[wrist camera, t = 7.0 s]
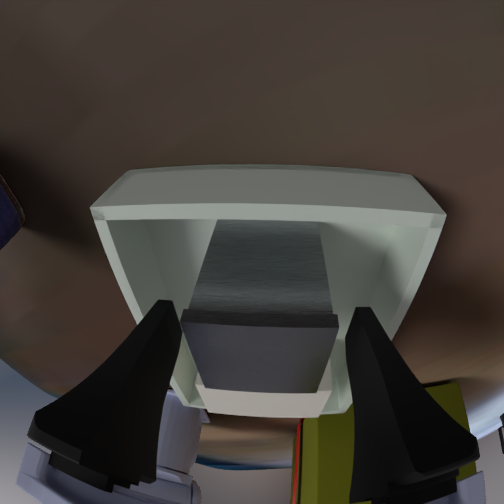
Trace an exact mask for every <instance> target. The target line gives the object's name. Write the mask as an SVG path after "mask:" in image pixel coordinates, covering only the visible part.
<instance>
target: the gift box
mask: <svg viewBox="0 0 504 504" xmlns="http://www.w3.org/2000/svg"><path fill="white" fill-rule="evenodd" d="M425 389H426V390H427V392H428V393H429V394H430V395H431V396H432V397H433V399H434V400H435V401H436V402H437V403H438V404H439V405H440V406H441V407H442V408H443V409H444V410H445V411H446V412H447V413H448V414H449V415H450V416H451V417H452V418H453V419H454V420H455V421H456V422H458V423H459V424H460V425H461V426H462V427H464V428H465V429H466V430H467V431H469V432H470V428H469V423H468V419H467V414H466V410H465V406H464V402H463V398H462V394H461V390H460V387H459V383H458V382H454V383H449V384H444V385H438V386H432V387H426V388H425ZM300 423H302V425H301V426H300ZM353 458H354V409H353V402H352V404H351V405H350V407H349V408H348V409H347V411H346V412H345V413H338V414H320V415H319V417H315V418H302V419H301V420H300V422H299V424H298V426H297V434H296V435H295V437H294V439H293V458H292V480H291V499H290V504H349V493H350V487H351V480H352V471H353ZM459 473H460V474H459V476H457V477H456V481H457V480H461V479H463V478H466V477H468V476H470V475H472V474H475V473H477V472H476V464H475V461H474V462H472V463H470V464H468V465H465V466H463V467H461V468H459ZM351 504H371V501H365V502H359V503H351Z"/></svg>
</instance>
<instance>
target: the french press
mask: <svg viewBox="0 0 504 504" xmlns="http://www.w3.org/2000/svg"><path fill="white" fill-rule="evenodd" d="M500 419H501V421H502V425H503V426H501V427H500V428H499V429H498V431H499V435H500V441H501V446H502V452H503V454H504V439H503V434H502V429H501V428H502V427H504V414H502V415H501V416H500Z"/></svg>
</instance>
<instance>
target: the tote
mask: <svg viewBox="0 0 504 504" xmlns="http://www.w3.org/2000/svg"><path fill="white" fill-rule="evenodd" d="M90 210H91V213H92V216H93V219H94V222H95V225H96V228H97V230H98V233H99V236H100V239H101V241H102V244H103V247H104V249H105V252H106V255H107V257H108V260H109V262H110V265H111V267H112V270H113V272H114V274H115V277H116V279H117V281H118V284H119V286H120V288H121V291H122V293H123V295H124V297H125V299H126V302H127V304H128V306H129V308H130V310H131V312H132V314H133V316H134V319H135V321H136V323H137V325H138V324H139V322H140V321H141V320H142V319H143V318H144V316H145V315H146V314H147V313H148V311H149V310H150V309H151V308H152V306H153V305H154V304H155V303H156V302H157V300H159V299H161V300H172V301H173V304H174V307H175V310H176V313H177V316H178V319H179V322H180V319H181V315H182V312H183V309H188V307H189V304H190V301H191V298H192V295H193V291H194V288H195V285H196V282H197V279H198V276H199V273H200V270H201V266H202V263H203V260H204V257H205V254H206V251H207V248H208V245H209V242H210V239H211V237H212V234H213V231H214V228H215V225H216V222H217V219H239V220H286V221H316V222H318V227H319V232H320V237H321V243H322V248H323V253H324V259H325V265H326V271H327V277H328V283H329V289H330V295H331V302H332V309H333V314H337V315H338V322H339V330H338V334H337V337H336V340H335V343H334V346H333V349H332V352H331V355H330V366H331V378H332V392H331V394H330V396H329V398H328V400H327V402H326V404H325V406H324V408H323V410H322V411H321V413H320V414H338V413H345V412H346V411H347V409H348V408H349V407H350V405H351V404H352V402H353V401H352V394H351V388H350V382H349V375H348V369H347V363H346V351H345V336H346V333H347V330H348V328H349V325H350V322H351V319H352V316H353V313H354V310H355V307H371V308H372V310H373V312H374V313H375V315H376V317H377V318H378V320H379V322H380V323H381V325H382V327H383V328H384V330H385V332H386V333H387V335H388V337H389V338H390V340H391V341H392V339H393V337H394V335H395V333H396V332H397V330H398V328H399V326H400V324H401V322H402V320H403V318H404V316H405V314H406V312H407V310H408V308H409V306H410V304H411V302H412V300H413V298H414V296H415V294H416V292H417V290H418V287H419V285H420V283H421V281H422V279H423V276H424V274H425V272H426V269H427V267H428V264H429V262H430V260H431V257H432V255H433V252H434V249H435V247H436V244H437V242H438V239H439V236H440V233H441V230H442V228H443V225H444V222H445V219H446V216H447V215H446V213H445V212H444V211H443V210H442V208H441V207H440V206H439V205H438V204H437V203H436V201H435V200H434V199H433V198H432V197H431V196H430V194H429V193H428V192H427V191H426V190H425V189H424V188H423V187H422V186H421V184H420V183H419V182H418V181H417V180H416V179H415V178H414V177H413V176H412V175H410V174H402V173H394V172H386V171H376V170H366V169H355V168H342V167H327V166H308V165H279V164H221V165H192V166H173V167H158V168H146V169H134V170H128V171H127V172H126V173H125V174H124V175H123V176H122V177H120V178H119V179H118V180H117V181H116V182H115V183H114V184H113V185H112V186H111V187H110V188H109V189H108V190H107V191H106V192H105V193H104V194H103V195H101V196H100V197H99V198H98V199H97V200H96V201H95V202H94V203H93V204H92V205H91V206H90ZM180 325H181V324H180ZM181 328H182V327H181ZM182 331H183V330H182ZM197 373H198V370H197V367H196V364H195V362H194V359H193V357H192V354H191V351H190V349H189V346H188V343H187V341H186V338H185V335H184V332H182V338H181V344H180V349H179V354H178V358H177V361H176V364H175V368H174V371H173V374H172V377H171V381H170V385H171V386H172V388H173V390H174V391H175V393H176V394H177V396H178V398H179V399H180V401H181V402H182V404H183V405H184V406H189V407H196V408H203V409H206V406H205V404H204V402H203V400H202V398H201V396H200V394H199V392H198V389H197V387H196V385H195V382H196V378H197Z"/></svg>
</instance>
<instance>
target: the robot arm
mask: <svg viewBox="0 0 504 504" xmlns="http://www.w3.org/2000/svg"><path fill="white" fill-rule="evenodd" d="M182 332H183V331H182V328H181V325H180V322H179V319H178V316H177V313H176V310H175V307H174V304H173V301H172V300H161V299H159V300H157V302H156V303H155V304H154V305H153V306H152V308H151V309H150V310H149V311H148V313H147V314H146V315H145V316H144V318H143V319H142V320H141V321H140V322H139V324H138V325H137V326H136V327H135V328H134V330H133V331H132V332H131V333H130V334H129V336H128V337H127V338H126V339H125V340H124V341H123V342H122V344H121V345H120V346H119V347H118V348H117V349H116V350H115V351H114V352H113V353H112V354H111V355H110V357H109V358H108V359H107V360H106V361H105V362H104V363H103V364H101V365H100V366H99V367H98V368H97V369H96V370H95V371H94V372H93V373H92V374H90V375H89V376H88V377H87V378H86V379H85V380H83V381H82V382H81V383H80V384H78V385H77V386H76V387H74V388H73V389H72V390H70V391H69V392H67V393H66V394H65V395H63V396H62V397H60V398H59V399H57V400H56V401H54V402H52V403H50V404H49V405H47V406H45V407H43V408H42V409H40V410H38V411H36V413H35V415H34V418H33V420H32V423H31V426H30V428H29V431H28V434H27V436H28V437H29V438H30V439H32V440H33V441H35V442H37V443H39V444H40V445H42V446H44V447H46V448H47V449H49V450H51V451H52V452H51V454H48V453H46V452H45V451H43V450H41V449H40V448H38V447H36V446H34V445H32V444H31V443H27V446H26V449H25V452H24V455H23V458H22V462H21V465H20V469H19V473H18V477H17V481H16V485H17V486H18V487H20V488H21V489H23V490H24V491H25V492H27V493H28V494H29V495H31V496H32V497H33V498H35V499H36V500H37V501H39V502H40V503H42V504H201V490H200V487H199V486H198V485H197V483H196V482H195V481H194V480H192V478H193V476H190V475H189V470H190V468H191V467H192V466H193V464H194V463H195V460H196V456H197V450H198V444H199V439H200V433H201V427H202V422H203V423H210V419H209V417H208V415H207V413H206V411H205V409H203V408H196V407H189V406H184V405H183V404H182V402H181V401H180V399H179V398H178V396H177V394H176V393H175V391H174V390H170V389H168V387H169V384H170V381H171V377H172V374H173V371H174V368H175V364H176V361H177V358H178V354H179V349H180V344H181V338H182ZM345 351H346V363H347V369H348V375H349V382H350V388H351V394H352V401H353V409H354V458H353V471H352V480H351V487H350V493H349V504H351V503H359V502H365V501H371V504H486V496H485V483H484V474H483V471H480V472H477V473H475V474H472V475H470V476H468V477H466V478H463V479H461V480H457V481H456V477H457V476H459V474H460V473H459V468H461V467H463V466H465V465H468V464H470V463H472V462H474V461H476V460H478V459H479V457H480V454H479V447H478V442H477V438H476V437H475V436H474V435H472V434H471V433H470V432H469V431H467V430H466V429H465V428H464V427H462V426H461V425H460V424H459V423H458V422H456V421H455V420H454V419H453V418H452V417H451V416H450V415H449V414H448V413H447V412H446V411H445V410H444V409H443V408H442V407H441V406H440V405H439V404H438V403H437V402H436V401H435V400H434V399H433V397H432V396H431V395H430V394H429V393H428V392H427V390H426V389H425V388H424V387H423V386H422V384H421V383H420V382H419V381H418V379H417V378H416V377H415V375H414V374H413V373H412V371H411V370H410V368H409V367H408V366H407V364H406V363H405V361H404V360H403V358H402V357H401V355H400V354H399V352H398V351H397V349H396V348H395V346H394V345H393V343H392V342H391V340H390V338H389V337H388V335H387V333H386V332H385V330H384V328H383V327H382V325H381V323H380V322H379V320H378V318H377V317H376V315H375V313H374V312H373V310H372V308H371V307H355V310H354V313H353V316H352V319H351V322H350V325H349V328H348V330H347V333H346V336H345Z"/></svg>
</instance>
